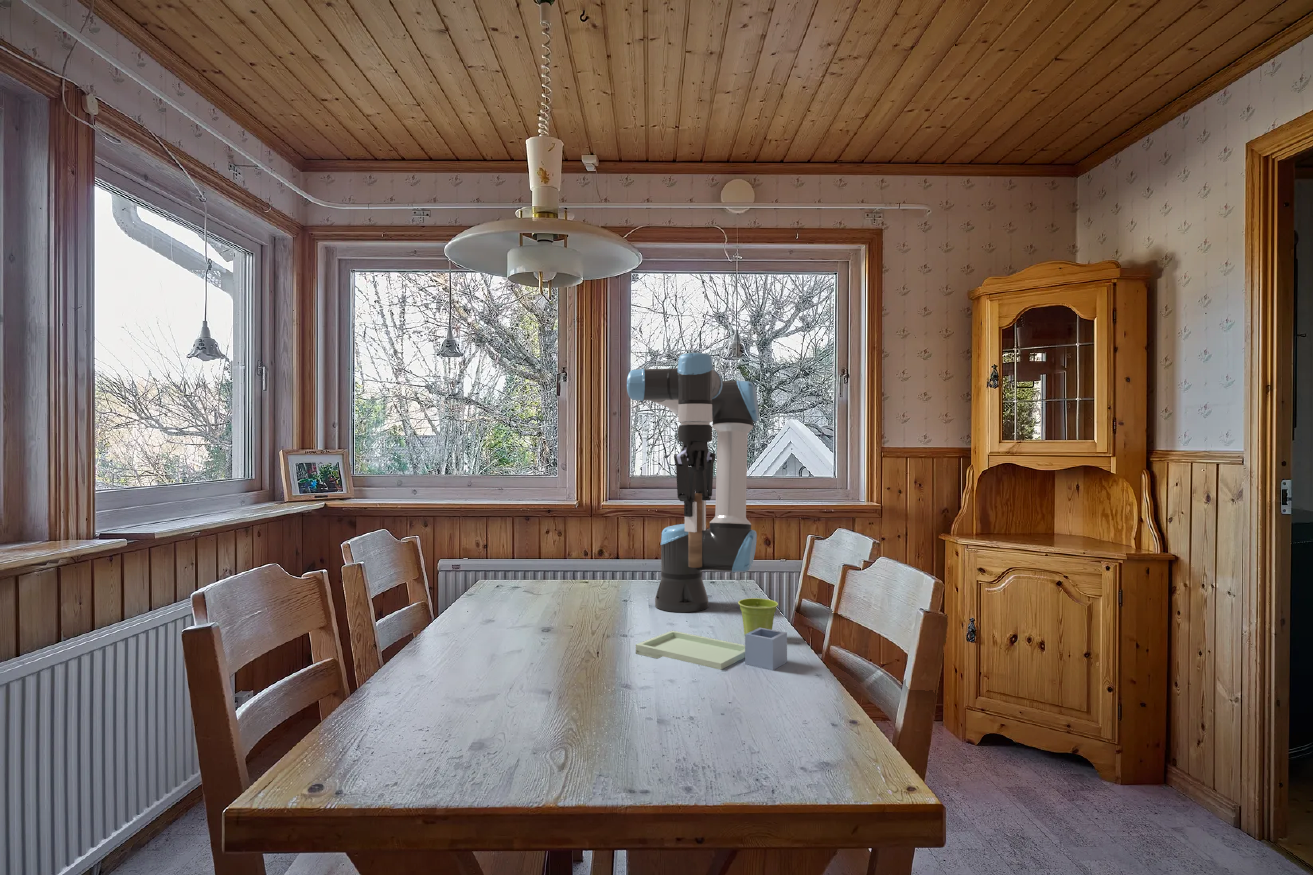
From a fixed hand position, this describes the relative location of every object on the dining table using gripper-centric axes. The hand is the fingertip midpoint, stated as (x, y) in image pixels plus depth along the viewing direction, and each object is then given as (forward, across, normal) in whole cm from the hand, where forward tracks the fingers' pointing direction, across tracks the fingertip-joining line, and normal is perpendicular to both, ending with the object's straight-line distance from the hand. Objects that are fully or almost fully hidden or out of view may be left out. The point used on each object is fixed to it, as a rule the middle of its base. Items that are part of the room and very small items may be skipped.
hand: (695, 530), depth 153 cm
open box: (+27, -2, +16) cm, 32 cm away
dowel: (+8, 0, 0) cm, 8 cm away
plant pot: (+28, -19, +5) cm, 34 cm away
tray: (+27, 0, 0) cm, 27 cm away
